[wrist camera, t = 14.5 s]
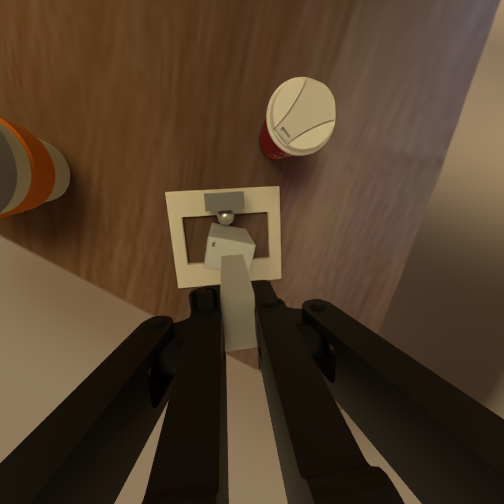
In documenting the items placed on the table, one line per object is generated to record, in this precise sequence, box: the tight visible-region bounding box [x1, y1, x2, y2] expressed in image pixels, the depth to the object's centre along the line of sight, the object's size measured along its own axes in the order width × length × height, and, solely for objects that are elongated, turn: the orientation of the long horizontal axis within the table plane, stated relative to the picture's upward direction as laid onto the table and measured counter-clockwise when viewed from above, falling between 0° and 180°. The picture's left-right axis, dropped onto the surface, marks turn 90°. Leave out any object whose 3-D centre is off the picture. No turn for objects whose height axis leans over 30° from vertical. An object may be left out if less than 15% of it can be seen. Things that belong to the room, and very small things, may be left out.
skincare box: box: [204, 223, 256, 274], centre depth 36 cm, size 6×4×12 cm
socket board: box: [165, 186, 281, 288], centre depth 39 cm, size 16×18×6 cm
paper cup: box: [259, 77, 336, 159], centre depth 32 cm, size 8×8×14 cm
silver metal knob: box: [217, 210, 234, 225], centre depth 37 cm, size 5×3×3 cm, turn 3°
